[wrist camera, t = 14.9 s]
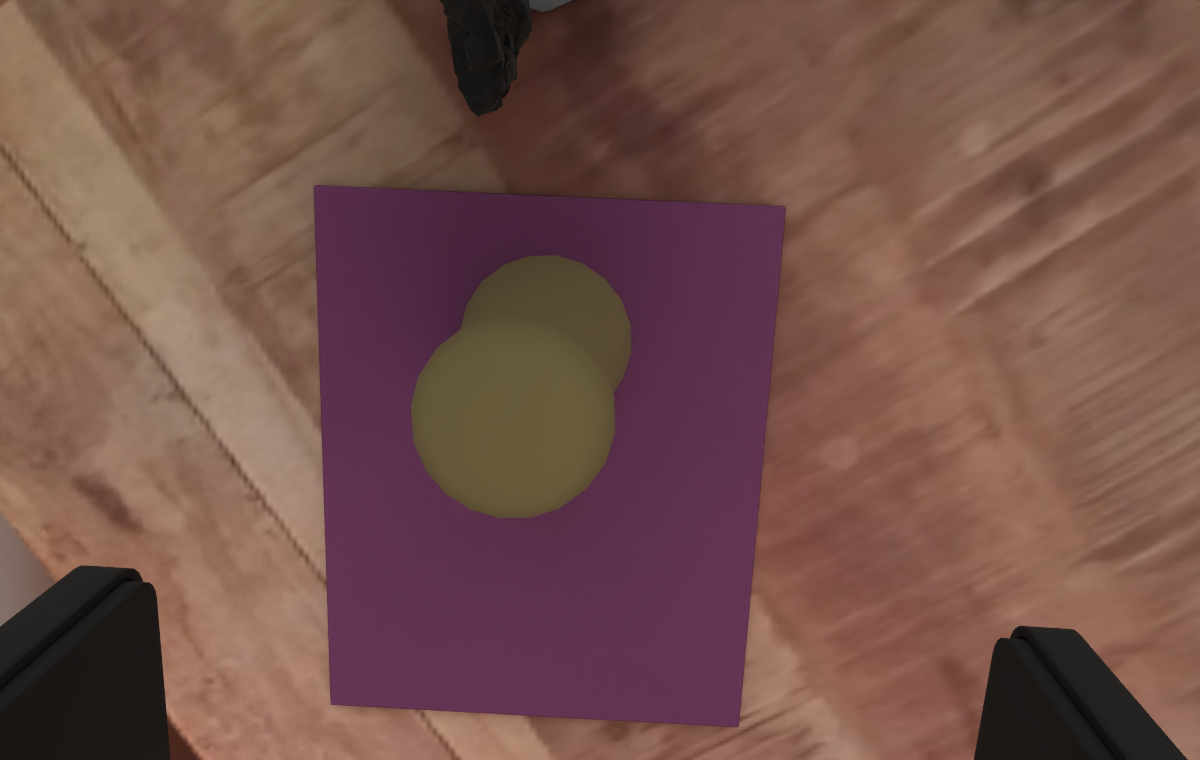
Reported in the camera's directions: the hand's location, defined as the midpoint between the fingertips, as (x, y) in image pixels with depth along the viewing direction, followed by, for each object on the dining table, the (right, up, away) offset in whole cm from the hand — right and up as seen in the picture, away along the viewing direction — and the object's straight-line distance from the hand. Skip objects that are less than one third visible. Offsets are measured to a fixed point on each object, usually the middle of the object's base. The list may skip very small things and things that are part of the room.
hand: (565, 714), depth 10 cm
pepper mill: (-1, +5, +23) cm, 23 cm away
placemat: (-2, 0, +24) cm, 24 cm away
